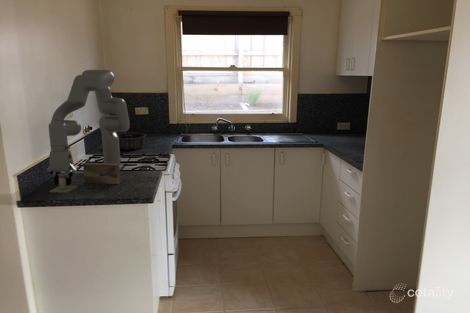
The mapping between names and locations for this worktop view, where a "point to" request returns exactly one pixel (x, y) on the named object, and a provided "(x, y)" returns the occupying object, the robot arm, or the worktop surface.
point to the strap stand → (95, 169)
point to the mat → (63, 190)
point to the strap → (107, 172)
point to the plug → (62, 181)
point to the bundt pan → (131, 140)
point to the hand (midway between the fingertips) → (63, 184)
